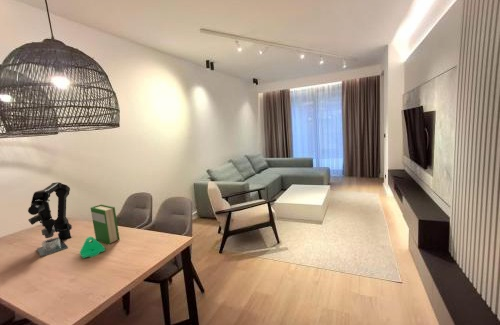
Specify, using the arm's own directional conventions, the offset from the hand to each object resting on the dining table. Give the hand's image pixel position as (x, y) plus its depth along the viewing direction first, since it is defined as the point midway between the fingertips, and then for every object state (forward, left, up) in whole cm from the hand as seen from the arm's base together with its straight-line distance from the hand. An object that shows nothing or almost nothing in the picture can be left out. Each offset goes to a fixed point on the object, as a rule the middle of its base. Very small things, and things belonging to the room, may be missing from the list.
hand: (48, 232), depth 163 cm
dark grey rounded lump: (0, 0, -3) cm, 3 cm away
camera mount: (-15, +33, -12) cm, 39 cm away
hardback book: (-28, +19, -12) cm, 36 cm away
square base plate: (0, 0, -12) cm, 12 cm away
